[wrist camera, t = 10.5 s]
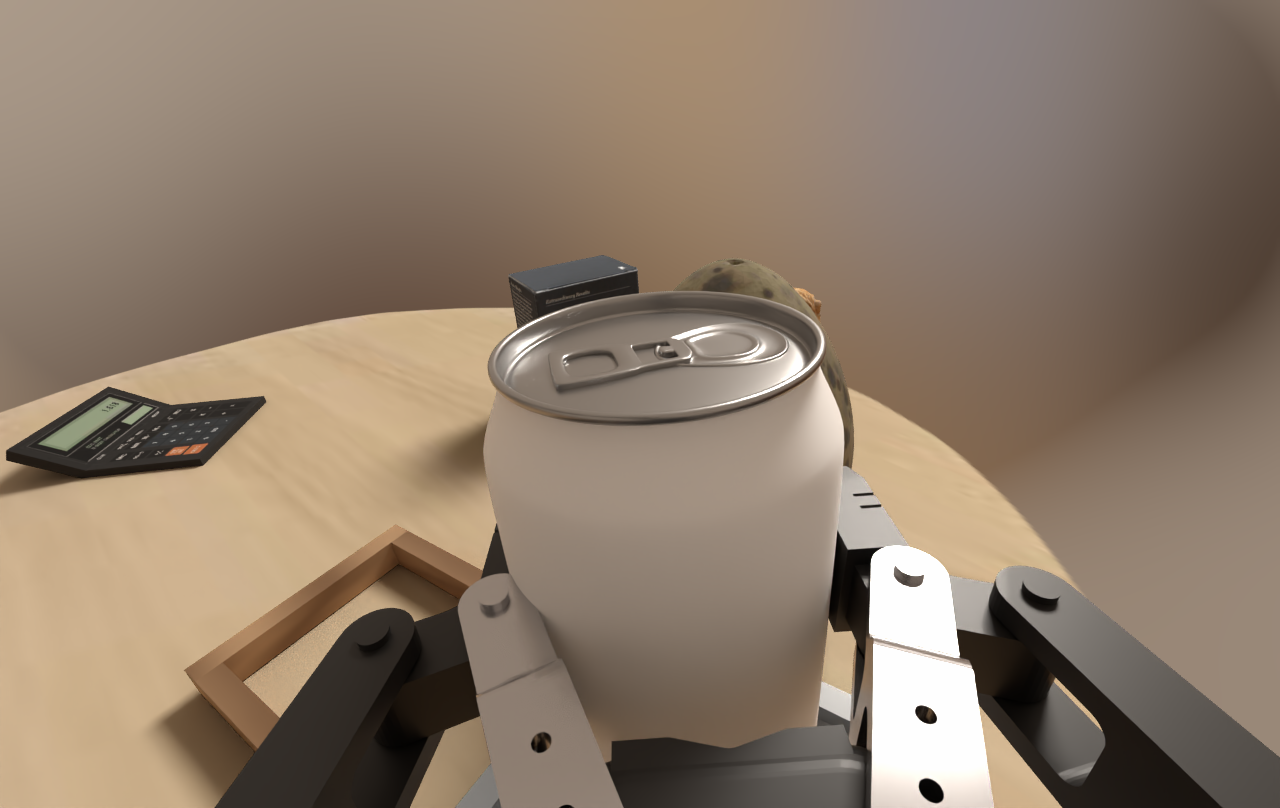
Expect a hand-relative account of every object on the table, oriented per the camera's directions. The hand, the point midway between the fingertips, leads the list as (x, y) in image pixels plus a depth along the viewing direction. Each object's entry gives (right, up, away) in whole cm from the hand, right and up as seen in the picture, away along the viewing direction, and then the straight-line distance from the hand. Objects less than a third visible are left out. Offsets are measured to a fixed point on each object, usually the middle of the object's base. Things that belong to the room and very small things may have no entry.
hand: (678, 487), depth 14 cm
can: (0, -8, +1) cm, 8 cm away
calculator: (-38, -1, +29) cm, 47 cm away
